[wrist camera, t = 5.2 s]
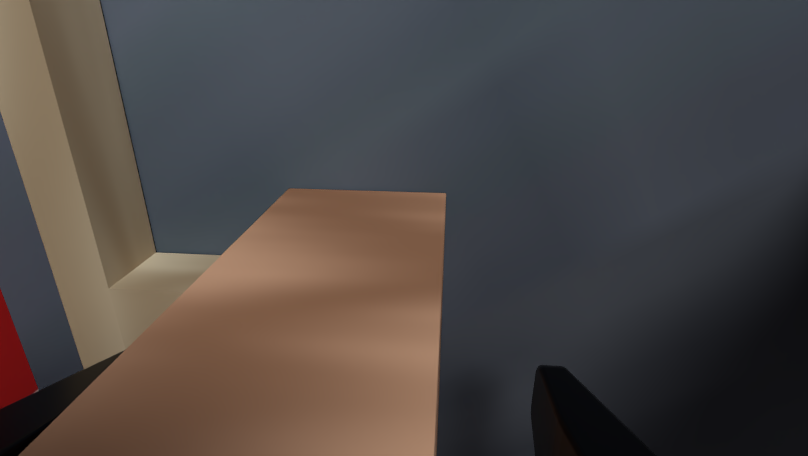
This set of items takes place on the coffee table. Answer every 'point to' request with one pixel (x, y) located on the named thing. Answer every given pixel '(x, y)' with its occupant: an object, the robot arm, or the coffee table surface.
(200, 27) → the coffee table surface
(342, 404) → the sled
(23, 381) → the puzzle toy
